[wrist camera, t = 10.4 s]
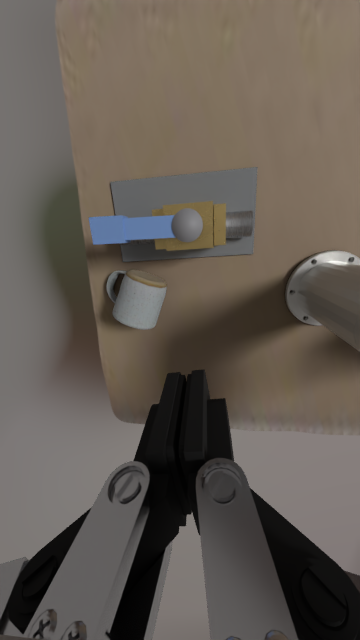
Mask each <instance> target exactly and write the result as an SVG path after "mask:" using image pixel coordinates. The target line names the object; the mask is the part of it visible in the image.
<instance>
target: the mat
mask: <svg viewBox="0 0 360 640" xmlns="http://www.w3.org/2000/svg"><path fill="white" fill-rule="evenodd" d="M110 183H111V189H112V195H113V202H114V208H115V215H116V216H120V215H122V216H126V217H128V218H136V217H152V210H154V209H163V205H173V204H184V203H195V202H207V201H213V205H214V204H223V203H226V212H236V211H248V210H252V212H253V231H252V235H251V236H250V237H238V238H226V245H216V246H214V245H213V246H214V248H202V249H187V250H172V251H167V250H166V249H157V250H156V247H155V243H153V244H138V245H124V246H122V245H121V244H120V247H121V253H122V259H123V262H130V261H146V260H162V259H178V258H194V257H210V256H226V255H242V254H253V246H254V225H255V205H256V185H257V167H253V168H243V169H234V170H224V171H214V172H204V173H194V174H184V175H174V176H165V177H155V178H145V179H135V180H125V181H115V182H110Z"/></svg>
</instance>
